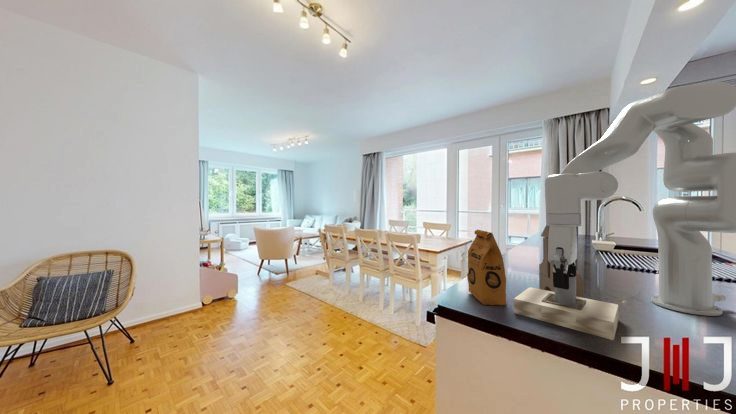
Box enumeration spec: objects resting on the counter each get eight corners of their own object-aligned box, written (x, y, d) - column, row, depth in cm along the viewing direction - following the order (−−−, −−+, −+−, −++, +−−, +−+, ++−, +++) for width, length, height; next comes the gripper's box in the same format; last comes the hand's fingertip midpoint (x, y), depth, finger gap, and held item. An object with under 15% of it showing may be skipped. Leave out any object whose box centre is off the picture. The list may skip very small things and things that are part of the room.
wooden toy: (585, 306, 74) (584, 221, 73) (559, 305, 75) (558, 221, 75) (558, 289, 89) (557, 218, 89) (537, 288, 90) (536, 218, 90)
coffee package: (477, 306, 75) (475, 233, 75) (465, 292, 88) (464, 229, 88) (511, 307, 74) (510, 232, 74) (494, 292, 87) (493, 228, 87)
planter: (580, 316, 65) (580, 276, 65) (563, 316, 65) (563, 277, 65) (566, 308, 70) (566, 271, 70) (550, 308, 70) (550, 272, 70)
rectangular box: (514, 312, 70) (513, 297, 70) (529, 299, 80) (529, 286, 80) (613, 340, 55) (613, 321, 55) (618, 320, 65) (618, 303, 65)
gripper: (553, 217, 76) (555, 274, 76) (537, 222, 64) (539, 288, 65) (586, 218, 70) (588, 279, 71) (574, 223, 59) (577, 295, 59)
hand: (565, 283), depth 68 cm, fingers open, 9 cm apart
